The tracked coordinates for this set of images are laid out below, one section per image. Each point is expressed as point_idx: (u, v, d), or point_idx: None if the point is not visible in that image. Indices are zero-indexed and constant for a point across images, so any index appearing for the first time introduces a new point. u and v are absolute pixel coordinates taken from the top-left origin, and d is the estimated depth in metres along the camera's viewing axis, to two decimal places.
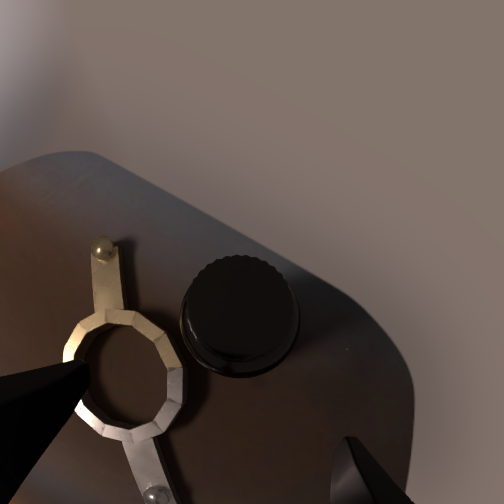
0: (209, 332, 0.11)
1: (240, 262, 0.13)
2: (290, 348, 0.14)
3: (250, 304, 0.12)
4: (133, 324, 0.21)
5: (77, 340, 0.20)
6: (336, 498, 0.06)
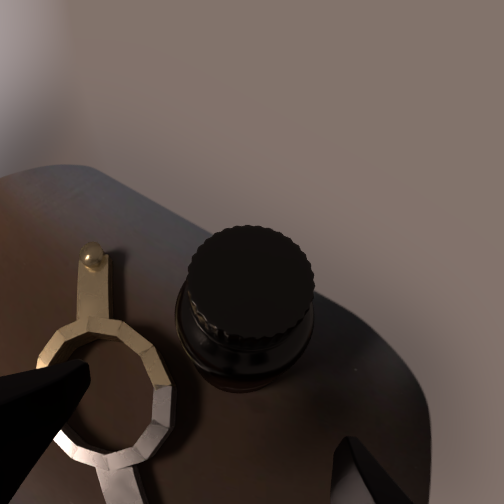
0: (215, 304, 0.10)
1: (252, 231, 0.11)
2: (305, 345, 0.12)
3: (264, 274, 0.10)
4: (118, 335, 0.18)
5: (53, 349, 0.17)
6: (336, 498, 0.06)
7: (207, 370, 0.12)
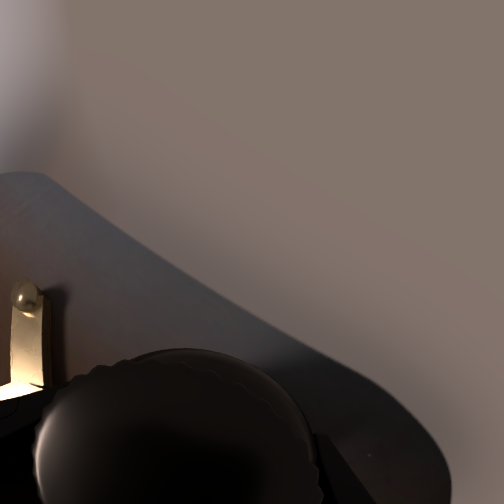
0: None
1: (161, 384, 0.04)
2: None
3: None
4: None
5: None
6: None
7: None
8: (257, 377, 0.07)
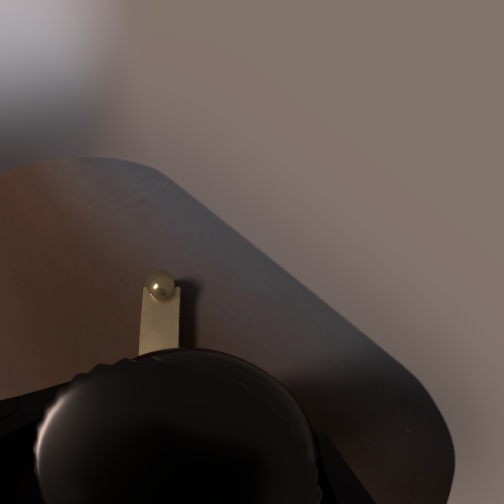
0: None
1: (161, 383, 0.04)
2: None
3: (189, 503, 0.03)
4: None
5: None
6: None
7: None
8: (259, 376, 0.07)
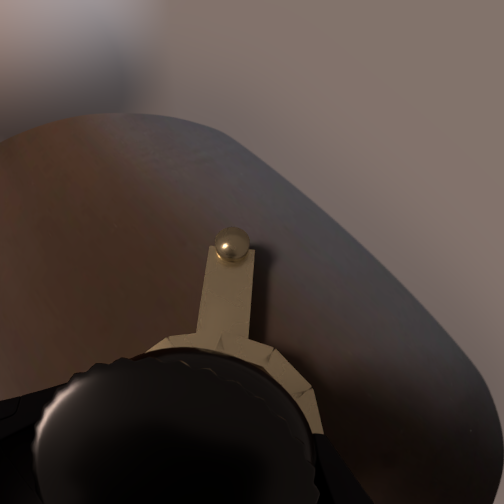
0: None
1: (158, 382, 0.04)
2: None
3: (186, 503, 0.03)
4: (265, 365, 0.14)
5: None
6: None
7: None
8: (257, 376, 0.07)
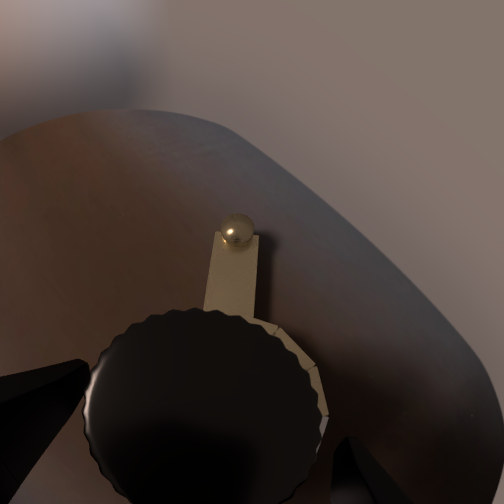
0: (128, 469, 0.04)
1: (202, 325, 0.05)
2: None
3: (220, 422, 0.04)
4: None
5: None
6: (336, 498, 0.06)
7: None
8: None
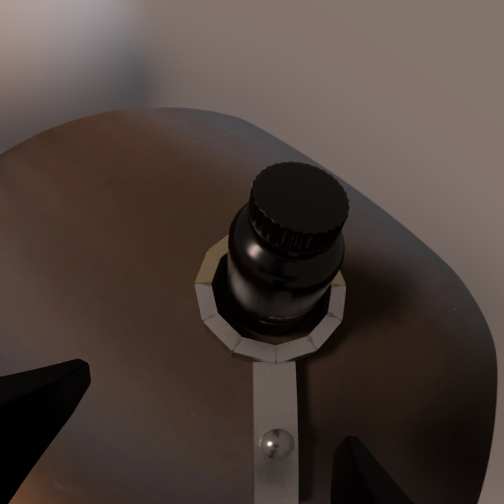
0: (279, 210, 0.12)
1: (296, 165, 0.14)
2: (341, 260, 0.15)
3: (311, 192, 0.13)
4: None
5: None
6: (336, 498, 0.06)
7: (263, 285, 0.14)
8: None
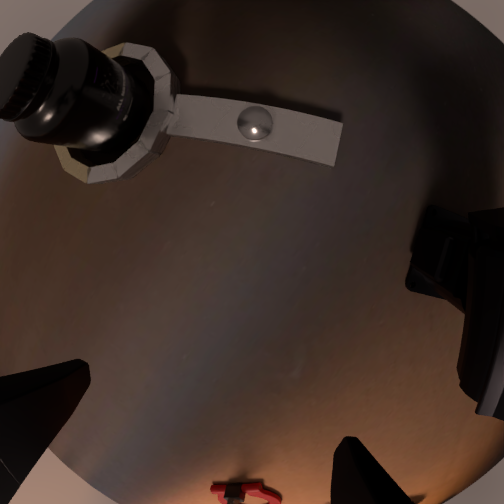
0: (7, 90, 0.07)
1: None
2: (77, 40, 0.10)
3: (7, 65, 0.07)
4: None
5: (63, 148, 0.18)
6: (336, 498, 0.06)
7: (71, 108, 0.11)
8: None
